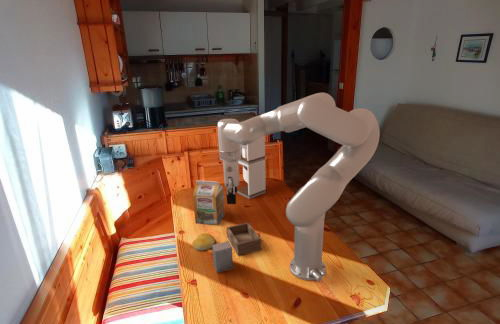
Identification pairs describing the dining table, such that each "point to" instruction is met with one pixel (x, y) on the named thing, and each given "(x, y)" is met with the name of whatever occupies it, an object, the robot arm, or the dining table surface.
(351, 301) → the dining table surface
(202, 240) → the bread roll
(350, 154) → the robot arm
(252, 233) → the open box
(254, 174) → the light grey boxy piece
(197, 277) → the dining table surface
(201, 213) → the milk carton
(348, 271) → the dining table surface
